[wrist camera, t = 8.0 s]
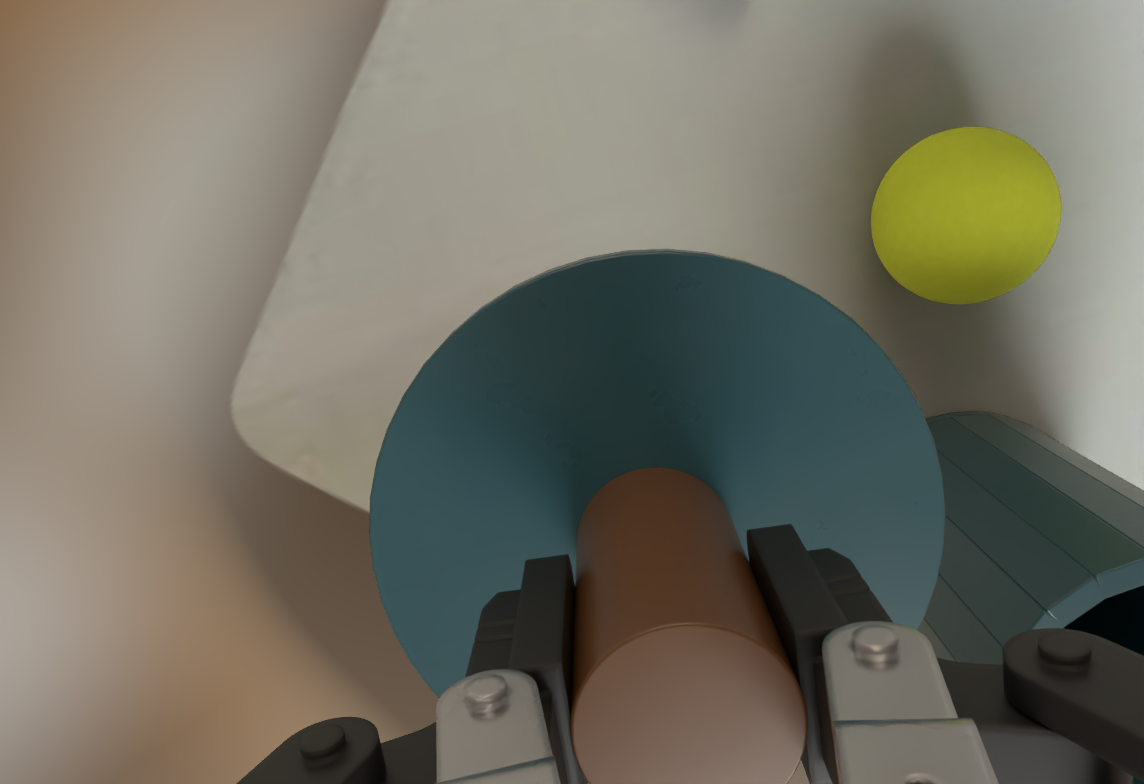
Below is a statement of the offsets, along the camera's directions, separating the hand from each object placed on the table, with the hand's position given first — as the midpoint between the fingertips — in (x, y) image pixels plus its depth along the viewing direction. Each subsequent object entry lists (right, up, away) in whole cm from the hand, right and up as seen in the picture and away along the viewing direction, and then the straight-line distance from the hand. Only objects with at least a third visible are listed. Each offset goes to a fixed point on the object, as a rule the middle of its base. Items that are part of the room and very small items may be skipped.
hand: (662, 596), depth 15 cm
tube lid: (0, +1, +3) cm, 3 cm away
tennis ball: (+13, +10, +18) cm, 24 cm away
